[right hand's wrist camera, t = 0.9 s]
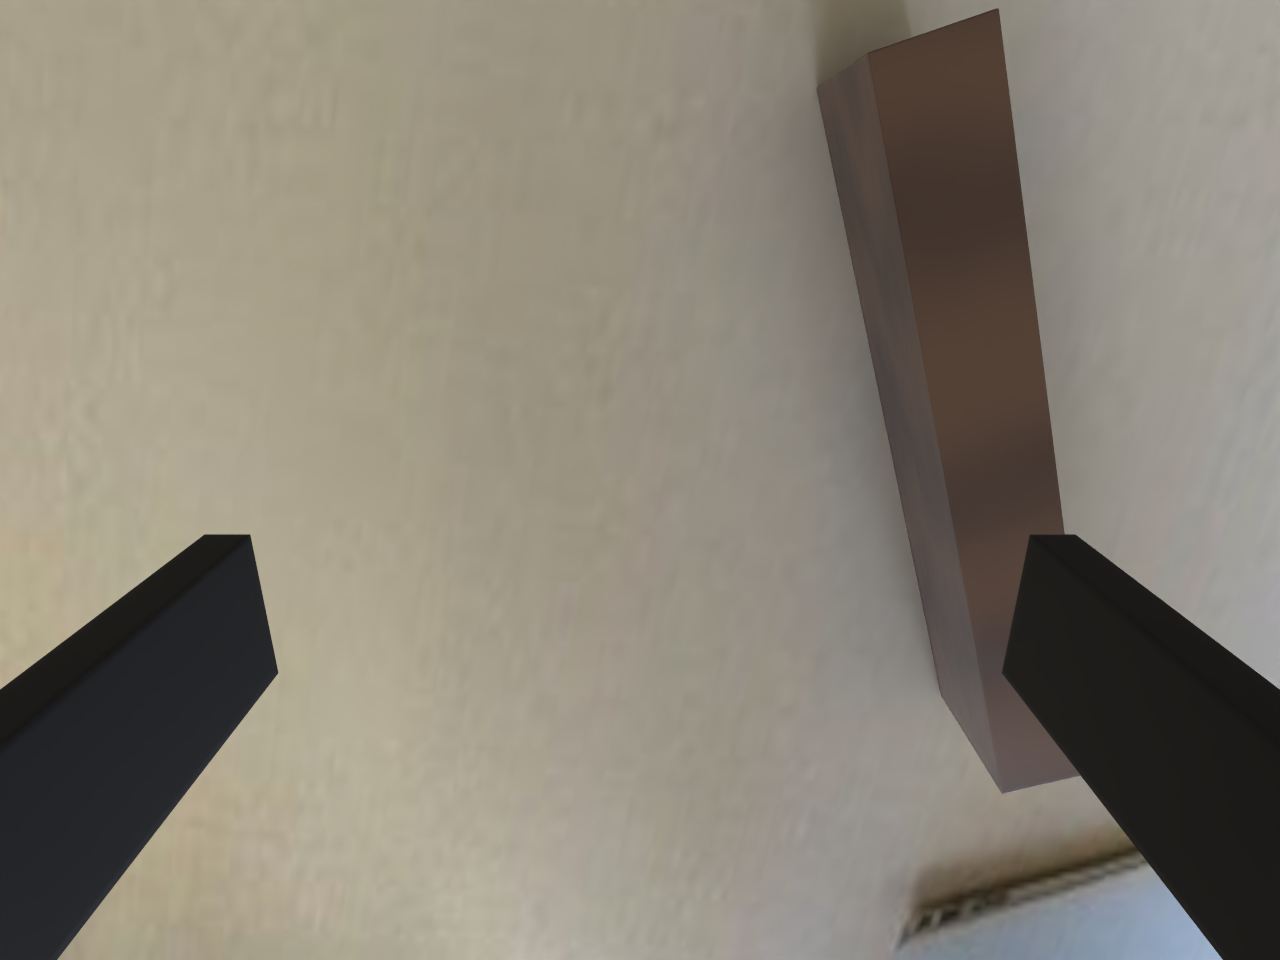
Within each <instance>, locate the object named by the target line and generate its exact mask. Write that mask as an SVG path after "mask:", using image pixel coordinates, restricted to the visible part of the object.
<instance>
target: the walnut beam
mask: <svg viewBox="0 0 1280 960" xmlns="http://www.w3.org/2000/svg"><path fill="white" fill-rule="evenodd" d="M817 93H818V98H819V103H820V108H821V113H822V118H823V122H824V127H825V132H826V137H827V142H828V147H829V152H830V156H831V161H832V166H833V171H834V176H835V181H836V186H837V191H838V195H839V200H840V205H841V210H842V215H843V220H844V225H845V229H846V234H847V239H848V244H849V249H850V254H851V259H852V264H853V268H854V273H855V278H856V283H857V288H858V293H859V298H860V302H861V307H862V312H863V317H864V322H865V327H866V332H867V337H868V341H869V346H870V351H871V356H872V361H873V366H874V371H875V376H876V380H877V385H878V390H879V395H880V400H881V405H882V410H883V414H884V419H885V424H886V429H887V434H888V439H889V444H890V449H891V453H892V458H893V463H894V468H895V473H896V478H897V483H898V487H899V492H900V497H901V502H902V507H903V512H904V517H905V522H906V526H907V531H908V536H909V541H910V546H911V551H912V556H913V561H914V565H915V570H916V575H917V580H918V585H919V590H920V595H921V599H922V604H923V609H924V614H925V619H926V624H927V629H928V634H929V638H930V643H931V648H932V653H933V658H934V663H935V668H936V672H937V677H938V682H939V687H940V692H941V696H942V698H943V699H944V701H945V703H946V704H947V706H948V707H949V709H950V711H951V712H952V714H953V715H954V717H955V719H956V720H957V722H958V723H959V725H960V727H961V728H962V730H963V732H964V733H965V735H966V736H967V738H968V740H969V741H970V743H971V744H972V746H973V748H974V749H975V751H976V752H977V754H978V756H979V757H980V759H981V761H982V762H983V764H984V765H985V767H986V769H987V770H988V772H989V773H990V775H991V777H992V778H993V780H994V781H995V783H996V785H997V786H998V788H999V790H1000V791H1001V793H1002V794H1004V793H1009V792H1013V791H1017V790H1021V789H1026V788H1030V787H1034V786H1038V785H1043V784H1047V783H1051V782H1055V781H1060V780H1064V779H1068V778H1072V777H1076V776H1081V775H1080V774H1079V772H1078V771H1077V770H1076V769H1075V767H1074V766H1073V765H1072V763H1071V762H1070V761H1069V760H1068V758H1067V757H1066V756H1065V754H1064V753H1063V752H1062V750H1061V749H1060V748H1059V747H1058V745H1057V744H1056V743H1055V741H1054V740H1053V739H1052V738H1051V736H1050V735H1049V734H1048V732H1047V731H1046V730H1045V728H1044V727H1043V726H1042V725H1041V723H1040V722H1039V721H1038V719H1037V718H1036V717H1035V715H1034V714H1033V713H1032V712H1031V710H1030V709H1029V708H1028V706H1027V705H1026V704H1025V703H1024V701H1023V700H1022V699H1021V697H1020V696H1019V695H1018V693H1017V692H1016V691H1015V690H1014V688H1013V687H1012V686H1011V684H1010V683H1009V682H1008V680H1007V679H1006V678H1005V677H1004V675H1003V674H1002V669H1003V664H1004V659H1005V654H1006V650H1007V645H1008V640H1009V635H1010V630H1011V625H1012V620H1013V615H1014V610H1015V605H1016V600H1017V595H1018V590H1019V586H1020V581H1021V576H1022V571H1023V566H1024V561H1025V556H1026V551H1027V546H1028V541H1029V536H1030V535H1064V527H1063V519H1062V511H1061V503H1060V495H1059V487H1058V479H1057V471H1056V463H1055V455H1054V447H1053V439H1052V431H1051V423H1050V415H1049V407H1048V399H1047V391H1046V383H1045V375H1044V367H1043V359H1042V351H1041V343H1040V335H1039V327H1038V320H1037V312H1036V304H1035V296H1034V288H1033V280H1032V272H1031V264H1030V256H1029V248H1028V240H1027V232H1026V224H1025V216H1024V208H1023V200H1022V192H1021V184H1020V176H1019V168H1018V160H1017V152H1016V144H1015V136H1014V128H1013V120H1012V112H1011V104H1010V96H1009V88H1008V80H1007V72H1006V64H1005V56H1004V48H1003V40H1002V32H1001V24H1000V16H999V9H994V10H991V11H988V12H985V13H982V14H979V15H976V16H973V17H970V18H968V19H965V20H962V21H959V22H956V23H953V24H950V25H947V26H944V27H941V28H939V29H936V30H933V31H930V32H927V33H924V34H921V35H918V36H915V37H912V38H910V39H907V40H904V41H901V42H898V43H895V44H892V45H889V46H886V47H883V48H881V49H878V50H875V51H872V52H869V53H867V54H866V55H865V56H863V57H862V58H860V59H859V60H857V61H856V62H854V63H853V64H851V65H850V66H848V67H847V68H845V69H844V70H843V71H841V72H840V73H838V74H837V75H835V76H834V77H832V78H831V79H829V80H828V81H826V82H825V83H823V84H822V85H821V86H819V87H818V88H817Z"/></svg>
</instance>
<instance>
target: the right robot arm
mask: <svg viewBox="0 0 1280 960" xmlns="http://www.w3.org/2000/svg"><path fill="white" fill-rule="evenodd" d="M277 674H278V669H277V664H276V659H275V654H274V650H273V645H272V640H271V635H270V630H269V625H268V620H267V615H266V610H265V605H264V600H263V595H262V590H261V586H260V581H259V576H258V571H257V566H256V561H255V556H254V551H253V546H252V541H251V536H250V535H203V536H202V537H201V538H200V539H198V540H197V541H196V542H194V543H193V544H192V545H190V546H189V547H188V548H186V549H185V550H184V551H182V552H181V553H180V554H178V555H177V556H176V557H174V558H173V559H172V560H171V561H169V562H168V563H167V564H165V565H164V566H163V567H161V568H160V569H159V570H157V571H156V572H155V573H153V574H152V575H151V576H149V577H148V578H147V579H145V580H144V581H143V582H142V583H140V584H139V585H138V586H136V587H135V588H134V589H132V590H131V591H130V592H128V593H127V594H126V595H124V596H123V597H122V598H120V599H119V600H118V601H116V602H115V603H114V604H113V605H111V606H110V607H109V608H107V609H106V610H105V611H103V612H102V613H101V614H99V615H98V616H97V617H95V618H94V619H93V620H91V621H90V622H89V623H87V624H86V625H85V626H84V627H82V628H81V629H80V630H78V631H77V632H76V633H74V634H73V635H72V636H70V637H69V638H68V639H66V640H65V641H64V642H62V643H61V644H60V645H58V646H57V647H56V648H55V649H53V650H52V651H51V652H49V653H48V654H47V655H45V656H44V657H43V658H41V659H40V660H39V661H37V662H36V663H35V664H33V665H32V666H31V667H29V668H28V669H27V670H26V671H24V672H23V673H22V674H20V675H19V676H18V677H16V678H15V679H14V680H12V681H11V682H10V683H8V684H7V685H6V686H4V687H3V688H2V689H0V960H57V959H58V958H59V956H60V955H61V954H62V953H63V951H64V950H65V949H66V947H67V946H68V945H69V944H70V942H71V941H72V940H73V938H74V937H75V936H76V934H77V933H78V932H79V931H80V929H81V928H82V927H83V925H84V924H85V923H86V921H87V920H88V919H89V918H90V916H91V915H92V914H93V912H94V911H95V910H96V909H97V907H98V906H99V905H100V903H101V902H102V901H103V899H104V898H105V897H106V896H107V894H108V893H109V892H110V890H111V889H112V888H113V887H114V885H115V884H116V883H117V881H118V880H119V879H120V877H121V876H122V875H123V874H124V872H125V871H126V870H127V868H128V867H129V866H130V864H131V863H132V862H133V861H134V859H135V858H136V857H137V855H138V854H139V853H140V852H141V850H142V849H143V848H144V846H145V845H146V844H147V842H148V841H149V840H150V839H151V837H152V836H153V835H154V833H155V832H156V831H157V829H158V828H159V827H160V826H161V824H162V823H163V822H164V820H165V819H166V818H167V817H168V815H169V814H170V813H171V811H172V810H173V809H174V807H175V806H176V805H177V804H178V802H179V801H180V800H181V798H182V797H183V796H184V795H185V793H186V792H187V791H188V789H189V788H190V787H191V785H192V784H193V783H194V782H195V780H196V779H197V778H198V776H199V775H200V774H201V772H202V771H203V770H204V769H205V767H206V766H207V765H208V763H209V762H210V761H211V760H212V758H213V757H214V756H215V754H216V753H217V752H218V750H219V749H220V748H221V747H222V745H223V744H224V743H225V741H226V740H227V739H228V738H229V736H230V735H231V734H232V732H233V731H234V730H235V728H236V727H237V726H238V725H239V723H240V722H241V721H242V719H243V718H244V717H245V715H246V714H247V713H248V712H249V710H250V709H251V708H252V706H253V705H254V704H255V703H256V701H257V700H258V699H259V697H260V696H261V695H262V693H263V692H264V691H265V690H266V688H267V687H268V686H269V684H270V683H271V682H272V680H273V679H274V678H275V677H276V675H277ZM1002 674H1003V675H1004V677H1005V678H1006V679H1007V680H1008V682H1009V683H1010V684H1011V686H1012V687H1013V688H1014V690H1015V691H1016V692H1017V693H1018V695H1019V696H1020V697H1021V699H1022V700H1023V701H1024V703H1025V704H1026V705H1027V706H1028V708H1029V709H1030V710H1031V712H1032V713H1033V714H1034V715H1035V717H1036V718H1037V719H1038V721H1039V722H1040V723H1041V725H1042V726H1043V727H1044V728H1045V730H1046V731H1047V732H1048V734H1049V735H1050V736H1051V738H1052V739H1053V740H1054V741H1055V743H1056V744H1057V745H1058V747H1059V748H1060V749H1061V750H1062V752H1063V753H1064V754H1065V756H1066V757H1067V758H1068V760H1069V761H1070V762H1071V763H1072V765H1073V766H1074V767H1075V769H1076V770H1077V771H1078V772H1079V774H1080V775H1081V776H1082V778H1083V779H1084V780H1085V782H1086V783H1087V784H1088V785H1089V787H1090V788H1091V789H1092V791H1093V792H1094V793H1095V795H1096V796H1097V797H1098V798H1099V800H1100V801H1101V802H1102V804H1103V805H1104V806H1105V807H1106V809H1107V810H1108V811H1109V813H1110V814H1111V815H1112V817H1113V818H1114V819H1115V820H1116V822H1117V823H1118V824H1119V826H1120V827H1121V828H1122V829H1123V831H1124V832H1125V833H1126V835H1127V836H1128V837H1129V839H1130V840H1131V841H1132V842H1133V844H1134V845H1135V846H1136V848H1137V849H1138V850H1139V852H1140V853H1141V854H1142V855H1143V857H1144V858H1145V859H1146V861H1147V862H1148V863H1149V864H1150V866H1151V867H1152V868H1153V870H1154V871H1155V872H1156V874H1157V875H1158V876H1159V877H1160V879H1161V880H1162V881H1163V883H1164V884H1165V885H1166V887H1167V888H1168V889H1169V890H1170V892H1171V893H1172V894H1173V896H1174V897H1175V898H1176V899H1177V901H1178V902H1179V903H1180V905H1181V906H1182V907H1183V909H1184V910H1185V911H1186V912H1187V914H1188V915H1189V916H1190V918H1191V919H1192V920H1193V921H1194V923H1195V924H1196V925H1197V927H1198V928H1199V929H1200V931H1201V932H1202V933H1203V934H1204V936H1205V937H1206V938H1207V940H1208V941H1209V942H1210V944H1211V945H1212V946H1213V947H1214V949H1215V950H1216V951H1217V953H1218V954H1219V955H1220V956H1221V958H1222V959H1223V960H1280V689H1278V688H1277V687H1276V686H1274V685H1273V684H1272V683H1270V682H1269V681H1268V680H1266V679H1265V678H1264V677H1262V676H1261V675H1260V674H1258V673H1257V672H1256V671H1254V670H1253V669H1252V668H1251V667H1249V666H1248V665H1247V664H1245V663H1244V662H1243V661H1241V660H1240V659H1239V658H1237V657H1236V656H1235V655H1233V654H1232V653H1231V652H1229V651H1228V650H1227V649H1225V648H1224V647H1223V646H1222V645H1220V644H1219V643H1218V642H1216V641H1215V640H1214V639H1212V638H1211V637H1210V636H1208V635H1207V634H1206V633H1204V632H1203V631H1202V630H1200V629H1199V628H1198V627H1196V626H1195V625H1194V624H1193V623H1191V622H1190V621H1189V620H1187V619H1186V618H1185V617H1183V616H1182V615H1181V614H1179V613H1178V612H1177V611H1175V610H1174V609H1173V608H1171V607H1170V606H1169V605H1167V604H1166V603H1165V602H1164V601H1162V600H1161V599H1160V598H1158V597H1157V596H1156V595H1154V594H1153V593H1152V592H1150V591H1149V590H1148V589H1146V588H1145V587H1144V586H1142V585H1141V584H1140V583H1138V582H1137V581H1136V580H1135V579H1133V578H1132V577H1131V576H1129V575H1128V574H1127V573H1125V572H1124V571H1123V570H1121V569H1120V568H1119V567H1117V566H1116V565H1115V564H1113V563H1112V562H1111V561H1109V560H1108V559H1107V558H1106V557H1104V556H1103V555H1102V554H1100V553H1099V552H1098V551H1096V550H1095V549H1094V548H1092V547H1091V546H1090V545H1088V544H1087V543H1086V542H1084V541H1083V540H1082V539H1080V538H1079V537H1078V536H1077V535H1030V536H1029V541H1028V546H1027V551H1026V556H1025V561H1024V566H1023V571H1022V576H1021V581H1020V586H1019V590H1018V595H1017V600H1016V605H1015V610H1014V615H1013V620H1012V625H1011V630H1010V635H1009V640H1008V645H1007V650H1006V654H1005V659H1004V664H1003V669H1002Z"/></svg>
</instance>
